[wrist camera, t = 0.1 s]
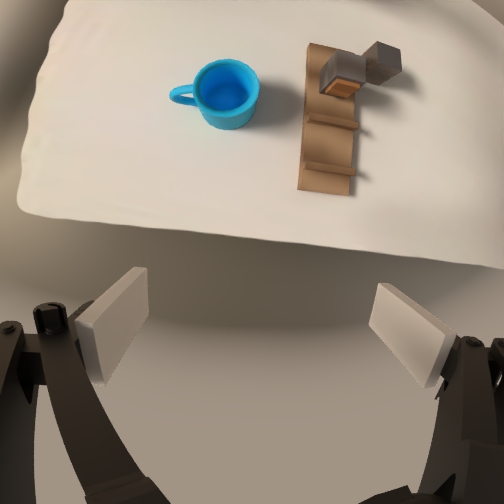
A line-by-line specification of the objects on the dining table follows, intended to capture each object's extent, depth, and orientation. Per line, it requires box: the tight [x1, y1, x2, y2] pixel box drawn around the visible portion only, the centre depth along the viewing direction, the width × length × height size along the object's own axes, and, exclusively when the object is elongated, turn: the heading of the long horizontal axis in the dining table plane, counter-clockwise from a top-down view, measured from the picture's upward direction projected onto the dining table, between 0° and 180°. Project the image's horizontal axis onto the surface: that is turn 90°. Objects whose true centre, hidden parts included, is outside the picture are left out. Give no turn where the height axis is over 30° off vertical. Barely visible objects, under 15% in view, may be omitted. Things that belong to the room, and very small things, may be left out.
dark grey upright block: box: [362, 41, 402, 85], centre depth 33 cm, size 5×4×8 cm
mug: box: [170, 59, 260, 130], centre depth 34 cm, size 12×8×8 cm
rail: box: [297, 43, 366, 196], centre depth 34 cm, size 24×7×10 cm, turn 175°
